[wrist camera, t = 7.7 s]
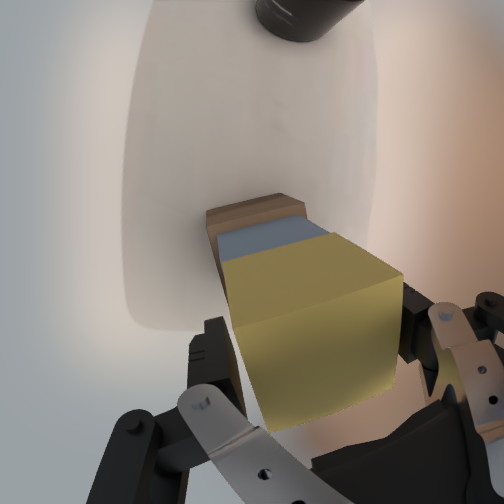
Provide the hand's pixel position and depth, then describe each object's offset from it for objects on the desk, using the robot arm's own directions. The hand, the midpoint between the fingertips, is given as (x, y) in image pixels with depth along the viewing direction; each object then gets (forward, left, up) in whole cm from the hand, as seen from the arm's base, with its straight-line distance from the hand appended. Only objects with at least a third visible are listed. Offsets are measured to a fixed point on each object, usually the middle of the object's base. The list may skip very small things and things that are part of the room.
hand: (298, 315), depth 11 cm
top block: (0, 0, -2) cm, 2 cm away
